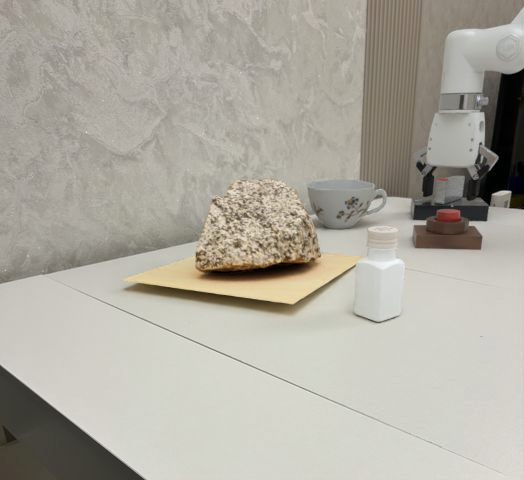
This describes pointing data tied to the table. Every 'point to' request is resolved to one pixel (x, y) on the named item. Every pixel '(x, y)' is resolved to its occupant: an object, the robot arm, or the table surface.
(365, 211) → the teacup
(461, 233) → the button block
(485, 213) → the faucet plate
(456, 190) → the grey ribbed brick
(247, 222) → the rock
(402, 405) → the table surface
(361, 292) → the salt shaker
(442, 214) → the button
